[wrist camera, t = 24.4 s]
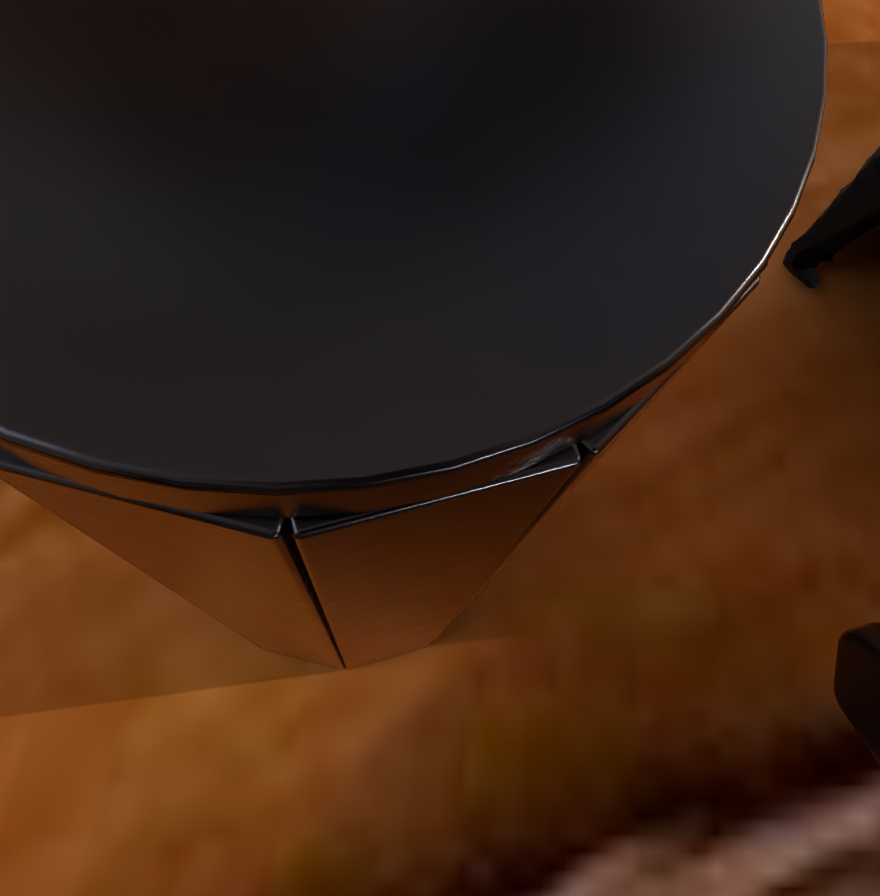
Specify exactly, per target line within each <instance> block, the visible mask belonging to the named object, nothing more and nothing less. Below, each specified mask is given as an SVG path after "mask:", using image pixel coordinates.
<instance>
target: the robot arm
mask: <svg viewBox="0 0 880 896" xmlns="http://www.w3.org/2000/svg"><path fill="white" fill-rule="evenodd" d="M834 692H835V696H836V699H837V701H838V703H839V706H840V707H841V709H842V711H843V712H844V714H845V715H846V717H847V718H848V719H849V721H850V722H851V724H852V725H853V727H854V728H855V730H856V731H857V733H858V734H859V736H860V737H861V739H862V740H863V741H864V743H865V744H866V746H867V747H868V749H869V750H870V752H871V753H872V755H873V756H874V758H875V759H876V761H877V762H878V763H879V765H880V623H878V622H873V623H868V624H865V625H862V626H859V627H856V628H853V629H850V630H847V631H845V632H843V634H842V635H841V637H840V638H839V642H838V651H837V659H836V668H835V676H834Z"/></svg>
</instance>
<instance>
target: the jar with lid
mask: <svg viewBox="0 0 880 896" xmlns="http://www.w3.org/2000/svg"><path fill="white" fill-rule="evenodd" d="M826 79H827V37H826V30H825V22H824V15H823V8H822V1H821V0H0V479H1V480H3V481H5V482H6V483H8V484H9V485H11V486H12V487H14V488H15V489H17V490H18V491H20V492H21V493H23V494H25V495H26V496H28V497H29V498H31V499H32V500H34V501H35V502H37V503H38V504H40V505H41V506H43V507H44V508H46V509H48V510H49V511H51V512H52V513H54V514H55V515H57V516H58V517H60V518H61V519H63V520H64V521H66V522H68V523H69V524H71V525H72V526H74V527H75V528H77V529H78V530H80V531H81V532H83V533H84V534H86V535H88V536H89V537H91V538H92V539H94V540H95V541H97V542H98V543H100V544H101V545H103V546H104V547H106V548H108V549H109V550H111V551H112V552H114V553H115V554H117V555H118V556H120V557H121V558H123V559H124V560H126V561H127V562H129V563H131V564H132V565H134V566H135V567H137V568H138V569H140V570H141V571H143V572H144V573H146V574H147V575H149V576H151V577H152V578H154V579H155V580H157V581H158V582H160V583H161V584H163V585H164V586H166V587H167V588H169V589H171V590H172V591H174V592H175V593H177V594H178V595H180V596H181V597H183V598H184V599H186V600H187V601H189V602H191V603H192V604H194V605H195V606H197V607H198V608H200V609H201V610H203V611H204V612H206V613H207V614H209V615H210V616H212V617H214V618H215V619H217V620H218V621H220V622H221V623H223V624H224V625H226V626H227V627H229V628H230V629H232V630H234V631H235V632H237V633H238V634H240V635H241V636H243V637H244V638H246V639H247V640H249V641H250V642H252V643H254V644H255V645H257V646H259V647H260V648H262V649H264V650H266V651H270V652H274V653H278V654H282V655H285V656H289V657H293V658H297V659H301V660H305V661H309V662H313V663H317V664H321V665H324V666H328V667H332V668H336V669H340V670H343V669H344V667H345V665H346V668H347V669H348V670H350V669H353V668H357V667H360V666H363V665H367V664H370V663H374V662H377V661H380V660H384V659H387V658H391V657H394V656H397V655H401V654H404V653H408V652H411V651H414V650H418V649H421V648H425V647H426V646H427V645H428V644H429V643H430V644H431V643H433V642H434V641H435V640H436V638H437V637H438V636H439V635H440V634H441V633H442V632H443V631H444V630H445V629H446V628H447V627H448V626H449V625H450V623H451V622H452V621H453V620H454V619H455V618H456V617H457V616H458V615H459V614H460V613H461V612H462V611H463V610H464V609H465V607H466V606H467V605H468V604H469V603H470V602H471V601H472V600H473V599H474V598H475V597H476V596H477V595H478V594H479V593H480V591H481V590H482V589H483V588H484V587H485V586H486V585H487V584H488V583H489V582H490V581H491V579H492V578H493V577H494V576H495V575H496V574H497V573H498V572H499V571H500V570H501V568H502V567H503V566H504V565H505V564H506V563H507V562H508V561H509V560H510V558H511V557H512V556H513V555H514V554H515V553H516V552H517V551H518V550H519V549H520V547H521V546H522V545H523V544H524V543H525V542H526V541H527V540H528V539H529V537H530V536H531V535H532V534H533V533H534V532H535V531H536V530H537V529H538V528H539V526H540V525H541V524H542V523H543V522H544V521H545V520H546V519H547V518H548V516H549V515H550V514H551V513H552V512H553V511H554V510H555V509H556V508H557V507H558V505H559V504H560V503H561V502H562V501H563V500H564V499H565V498H566V497H567V495H568V494H569V493H570V492H571V491H572V490H573V489H574V488H575V487H576V486H577V484H578V483H579V482H580V481H581V480H582V479H583V478H584V477H585V476H586V474H587V473H588V472H589V471H590V470H591V469H592V468H593V467H594V466H595V465H596V463H597V462H598V461H599V460H600V459H601V458H602V457H603V456H604V455H605V453H606V452H607V451H608V450H609V449H610V448H611V447H612V446H613V445H614V444H615V442H616V441H617V440H618V439H619V438H620V437H621V436H622V435H623V434H624V432H625V431H626V430H627V429H628V428H629V427H630V426H631V425H632V424H633V423H634V421H635V420H636V419H637V418H638V417H639V416H640V415H641V414H642V413H643V411H644V410H645V409H646V408H647V407H648V406H649V405H650V404H651V403H652V402H653V400H654V399H655V398H656V397H657V396H658V395H659V394H660V393H661V392H662V390H663V389H664V388H665V387H666V386H667V385H668V384H669V383H670V382H671V381H672V379H673V378H674V377H675V376H676V375H677V374H678V373H679V372H680V371H681V369H682V368H683V367H684V366H685V365H686V364H687V363H688V362H689V361H690V360H691V358H692V357H693V356H694V355H695V354H696V353H697V352H698V351H699V350H700V348H701V347H702V346H703V345H704V344H705V343H706V342H707V341H708V340H709V339H710V337H711V336H712V335H713V334H714V333H715V332H716V331H717V330H718V329H719V327H720V326H721V325H722V324H723V323H724V322H725V321H726V320H727V319H728V318H729V316H730V315H731V314H732V313H733V312H734V311H735V310H736V309H737V308H738V306H739V305H740V304H741V303H742V302H743V301H744V300H745V299H746V298H747V297H748V295H749V294H750V293H751V292H752V291H753V290H754V289H755V288H756V287H757V286H758V284H759V281H760V276H759V275H760V274H761V273H762V271H763V270H764V269H765V268H766V266H767V265H768V260H769V259H770V257H771V255H772V253H773V252H774V250H775V248H776V246H777V245H778V243H779V241H780V239H781V238H782V236H783V234H784V232H785V231H786V229H787V227H788V225H789V224H790V222H791V220H792V218H793V217H794V214H795V211H796V209H797V206H798V203H799V201H800V198H801V195H802V193H803V190H804V187H805V184H806V182H807V179H808V176H809V174H810V171H811V168H812V165H813V163H814V160H815V154H816V149H817V144H818V139H819V133H820V128H821V123H822V117H823V112H824V107H825V101H826Z"/></svg>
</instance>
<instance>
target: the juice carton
mask: <svg viewBox="0 0 880 896" xmlns="http://www.w3.org/2000/svg"><path fill="white" fill-rule="evenodd" d="M878 225H880V146H879V148H878V149H877V150H876V151H875V153H874V154H873V155H872V156H871V157H869V158H868V159H867V161H866V162H865V164H864V165H863V166H862V168H861V170H860V171H859V173H858V174H857V175H856V177H855V178H854V179H853V181H852V182H851V183H849V184H848V185H847V186H845V187H844V188H843V189H841V190H840V192H839V194H838V195H837V197H836V198H835V199H834V200H833V202H832V203H831V205H830V206H829V207H828V208H827V209H826V210H825V211H824V212H823V213H822V214H821V215H820V217H819V218H818V219H817V220H816V222H815V223H814V224H813V225H812V226H811V227H810V228H809V229H808V230H807V231H806V233H805V234H804V235H802V236H801V237H799V238H798V239H797V240H796V241H794V242H793V243H792V245H791V248H790V249H789V250H788V252H786V256H785V258H784V260H783V264H784V266H785V267H786V268H787V269H788V270H789V271H790V272H791V273H792V274H793V275H794V276H795V277H797V278H798V279H799V280H800V281H802V282H803V283H804V284H805V285H807V286H808V287H809V288H817V286H818V284H819V282H820V277H819V274H818V270H817V267H818V265H819V263H820V261H831V260H833V256H834V254H836V253H837V252H839V251H840V250H841V249H843V248H844V247H846V246H847V245H848V244H850V243H851V242H853V241H855V240H856V239H858V238H859V237H861V236H863V235H864V234H866V233H867V232H869V231H870V230H872V229H874V228H875V227H877V226H878Z"/></svg>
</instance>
